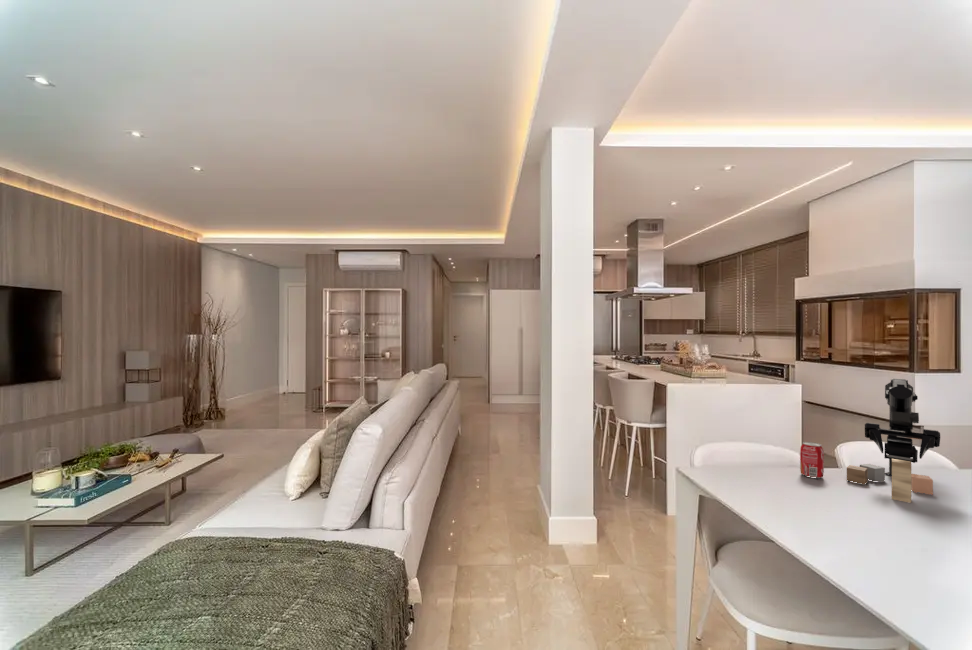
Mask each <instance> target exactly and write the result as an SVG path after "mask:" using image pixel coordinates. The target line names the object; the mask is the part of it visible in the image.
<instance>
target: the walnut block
mask: <svg viewBox="0 0 972 650" xmlns="http://www.w3.org/2000/svg"><path fill="white" fill-rule="evenodd" d="M847 480H848V481H853V482H857V483H862V484H865V483H866V482H867V481H868V468H863V467H860V466H855V465H851V464H850V465H848V466H847V467H846V481H847ZM868 482H869V481H868ZM868 482H867V483H868ZM857 483H856V484H857ZM867 483H866V484H867ZM866 484H865V485H866Z"/></svg>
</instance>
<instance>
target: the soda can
mask: <svg viewBox="0 0 972 650" xmlns="http://www.w3.org/2000/svg"><path fill="white" fill-rule="evenodd" d="M822 446H823V445H822V444H821V443H818V442H812V441H811V442H810V441H803V442H802V445H800V451H799V456H800V457H799V459H800V460H799V463H800V464H799V469H800V470H799V471H800V474H801V475H802V476H804V475H805V476H810V477H816V478H819V479H821V478H823V477H824V473H825V472H824V471H825V452H824V451H825V450H824V448H823V447H822ZM805 476H804V477H805Z"/></svg>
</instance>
